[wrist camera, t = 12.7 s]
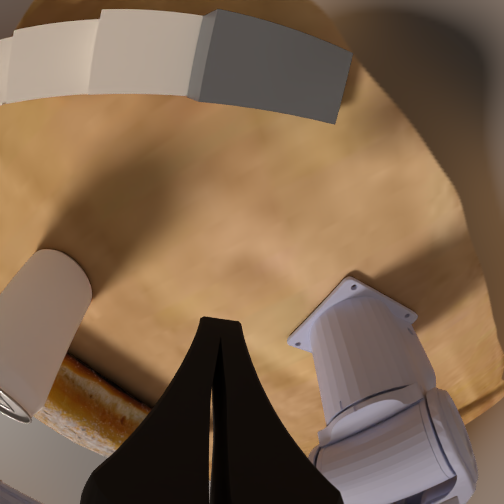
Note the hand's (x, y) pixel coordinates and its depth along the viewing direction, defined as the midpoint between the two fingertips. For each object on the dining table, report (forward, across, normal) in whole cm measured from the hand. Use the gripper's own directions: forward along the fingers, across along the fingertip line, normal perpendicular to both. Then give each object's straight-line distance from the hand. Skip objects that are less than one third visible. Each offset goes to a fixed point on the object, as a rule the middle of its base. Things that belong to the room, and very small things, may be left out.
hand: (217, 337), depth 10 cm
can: (+10, +13, +8) cm, 18 cm away
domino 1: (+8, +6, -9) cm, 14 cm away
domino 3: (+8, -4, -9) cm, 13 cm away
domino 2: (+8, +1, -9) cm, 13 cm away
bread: (+10, +11, +27) cm, 31 cm away
